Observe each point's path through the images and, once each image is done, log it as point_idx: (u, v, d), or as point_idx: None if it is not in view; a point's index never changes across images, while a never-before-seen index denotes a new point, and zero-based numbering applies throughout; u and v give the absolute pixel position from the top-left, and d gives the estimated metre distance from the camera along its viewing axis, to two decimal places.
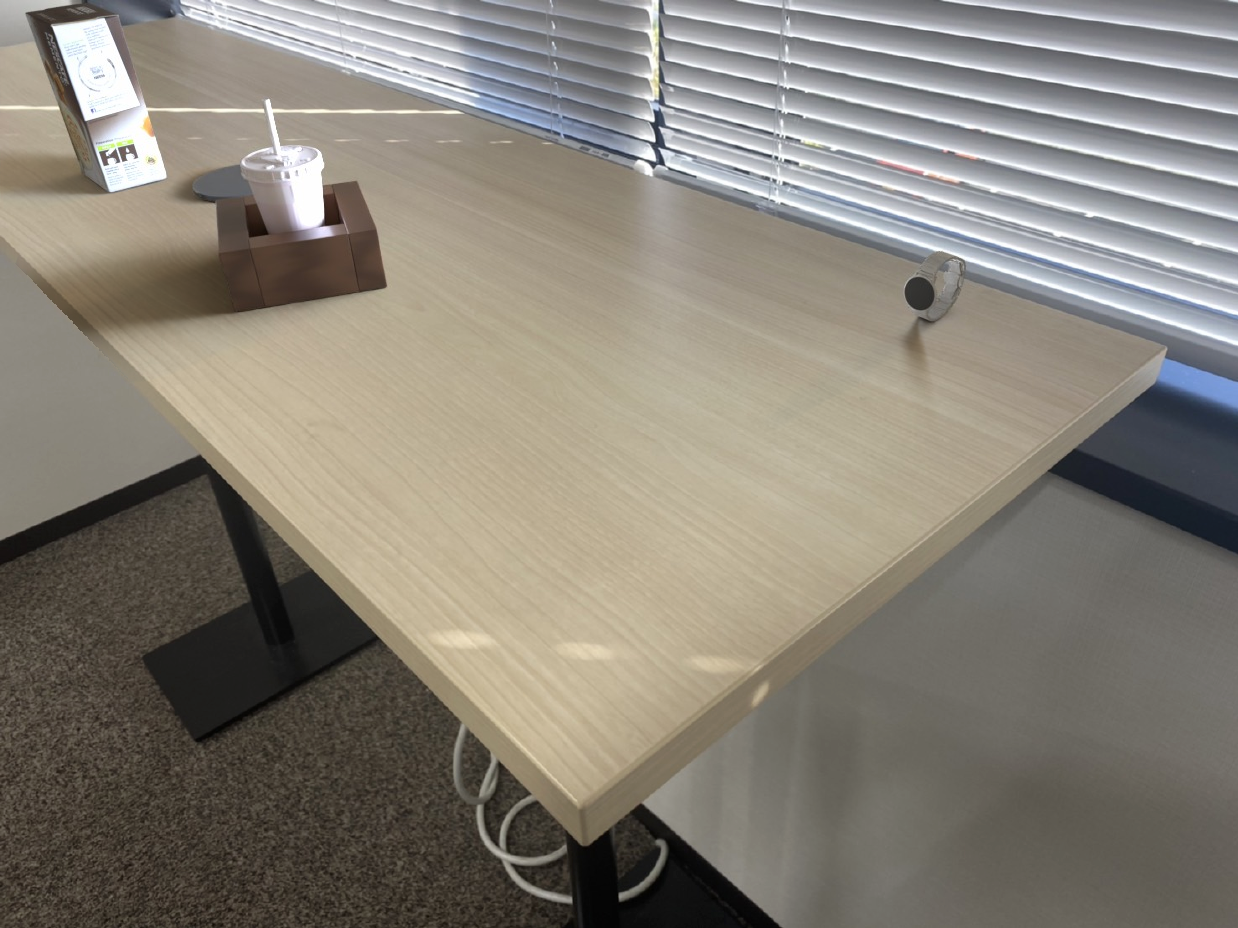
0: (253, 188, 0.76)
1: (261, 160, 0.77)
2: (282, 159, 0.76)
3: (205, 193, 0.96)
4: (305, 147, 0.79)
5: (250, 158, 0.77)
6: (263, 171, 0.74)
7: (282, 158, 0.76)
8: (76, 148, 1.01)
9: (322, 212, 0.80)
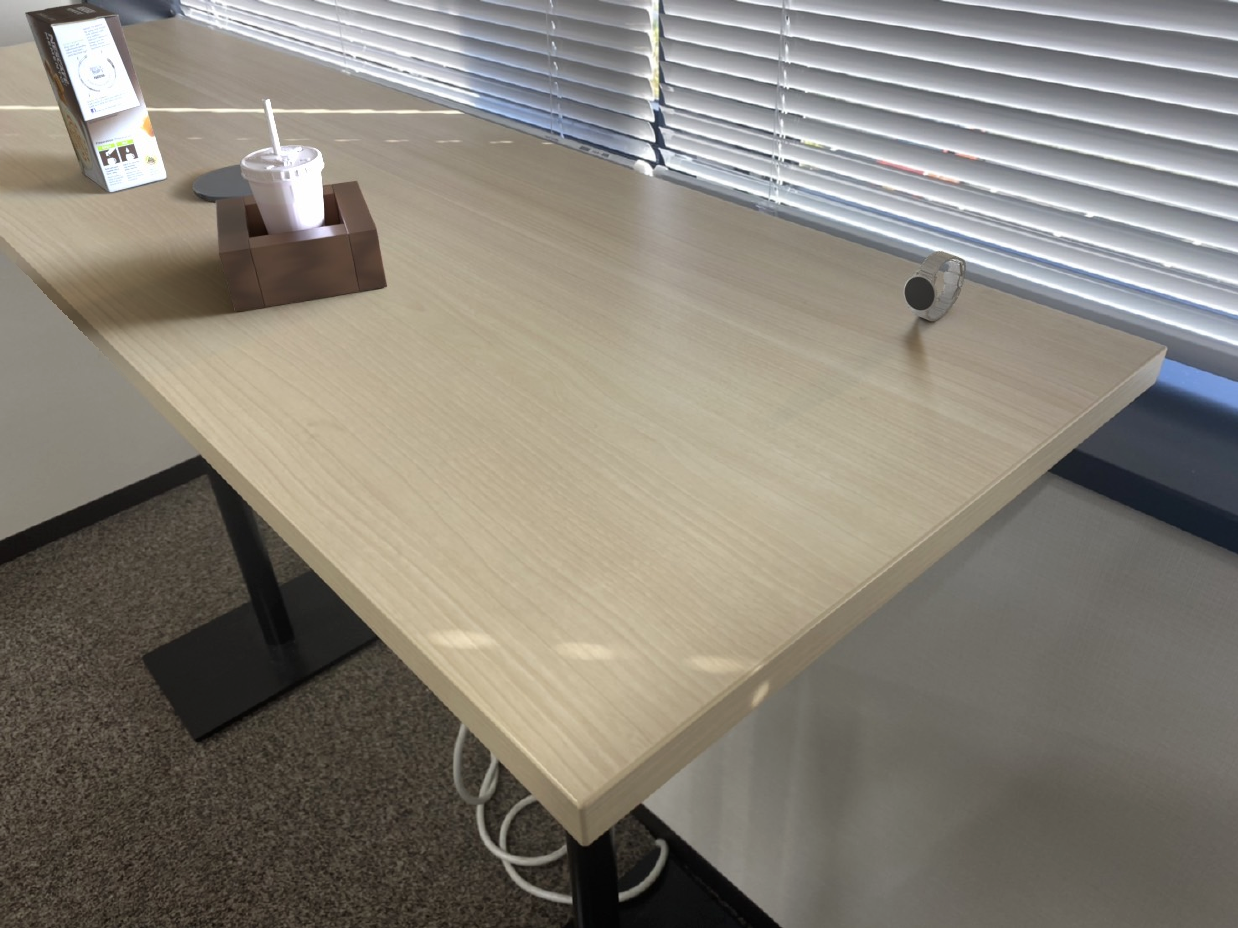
0: (253, 188, 0.76)
1: (261, 160, 0.77)
2: (282, 159, 0.76)
3: (205, 193, 0.96)
4: (305, 147, 0.79)
5: (250, 158, 0.77)
6: (263, 171, 0.74)
7: (282, 158, 0.76)
8: (76, 148, 1.01)
9: (322, 212, 0.80)
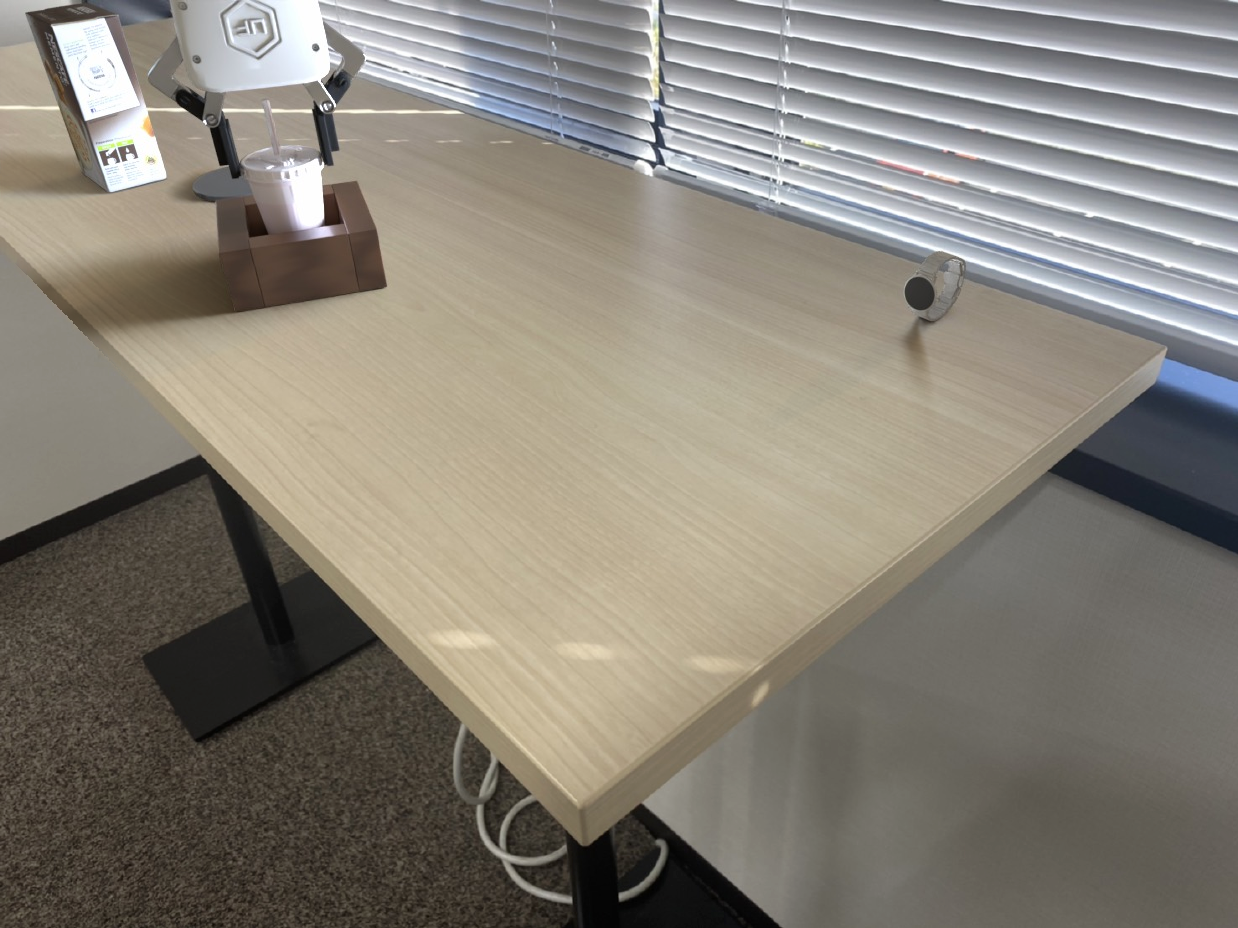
0: (253, 188, 0.76)
1: (261, 160, 0.77)
2: (282, 159, 0.76)
3: (205, 193, 0.96)
4: (305, 147, 0.79)
5: (250, 158, 0.77)
6: (263, 171, 0.74)
7: (282, 158, 0.76)
8: (76, 148, 1.01)
9: (322, 212, 0.80)
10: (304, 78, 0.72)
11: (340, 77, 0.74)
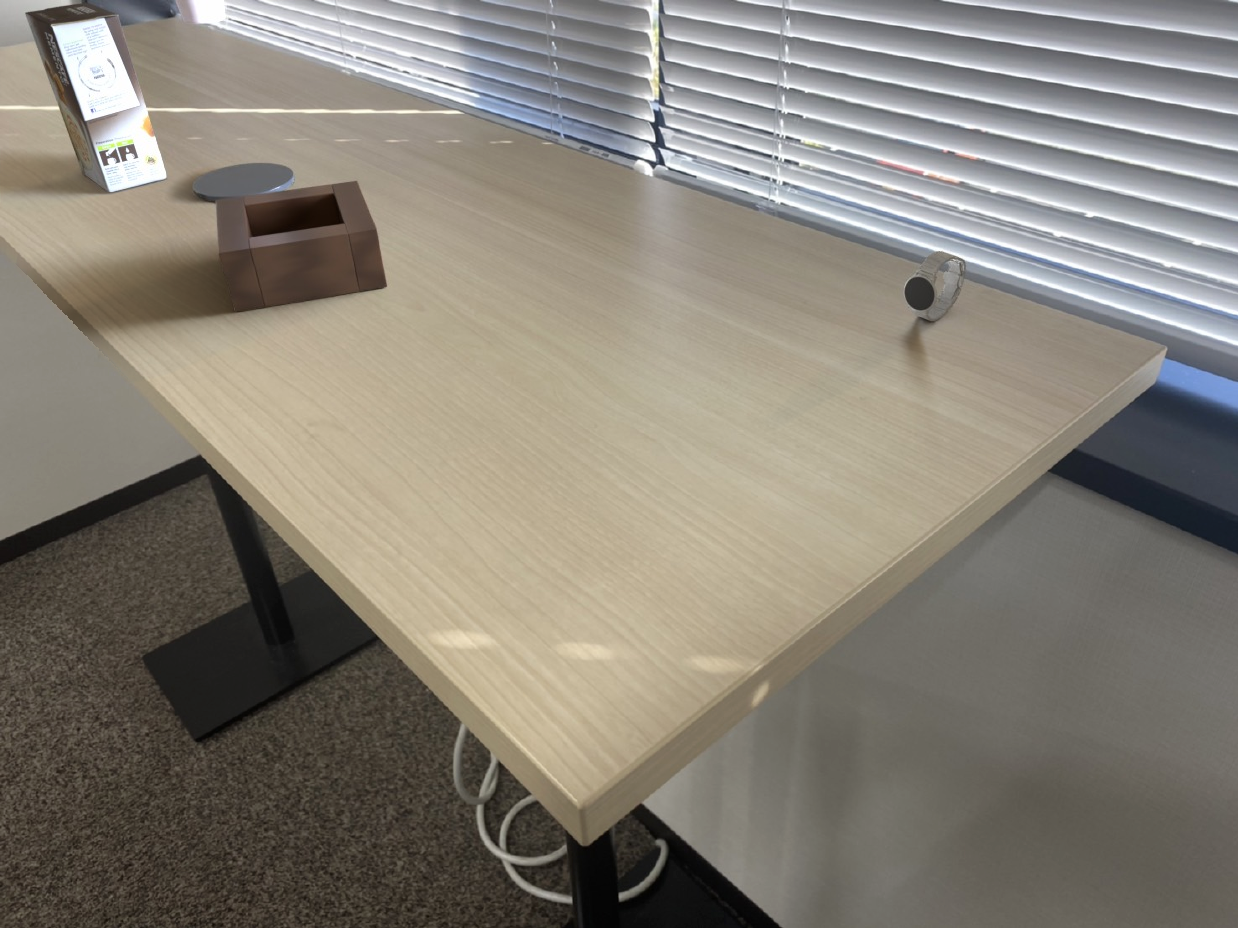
0: None
1: None
2: None
3: (205, 193, 0.96)
4: None
5: None
6: None
7: None
8: (76, 148, 1.01)
9: None
10: None
11: None
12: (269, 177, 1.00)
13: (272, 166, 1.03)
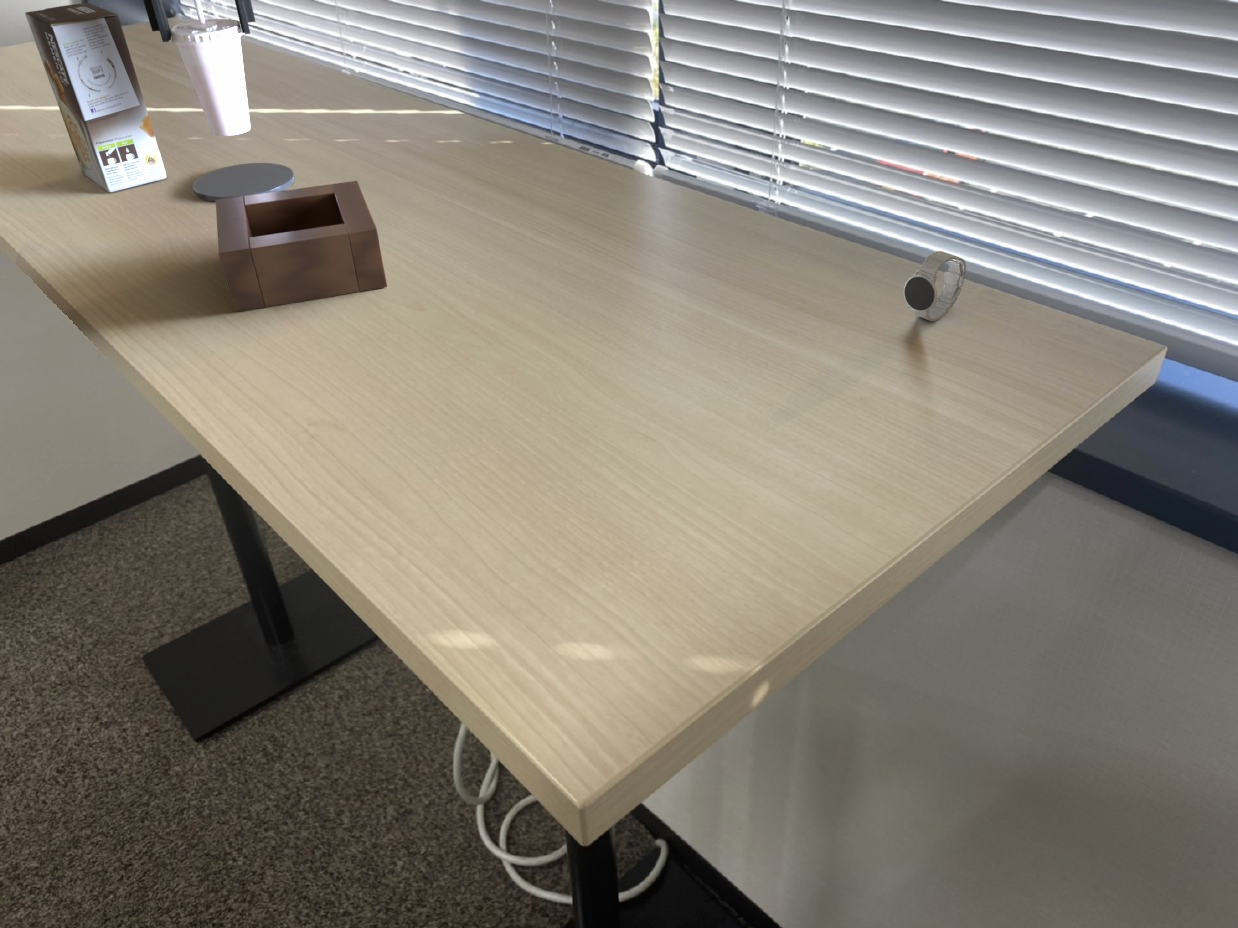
0: (181, 51, 0.91)
1: (188, 28, 0.91)
2: (206, 26, 0.90)
3: (205, 193, 0.96)
4: (227, 20, 0.93)
5: (179, 27, 0.91)
6: (188, 34, 0.89)
7: (205, 26, 0.90)
8: (76, 148, 1.01)
9: (242, 76, 0.94)
10: None
11: None
12: (269, 177, 1.00)
13: (272, 166, 1.03)
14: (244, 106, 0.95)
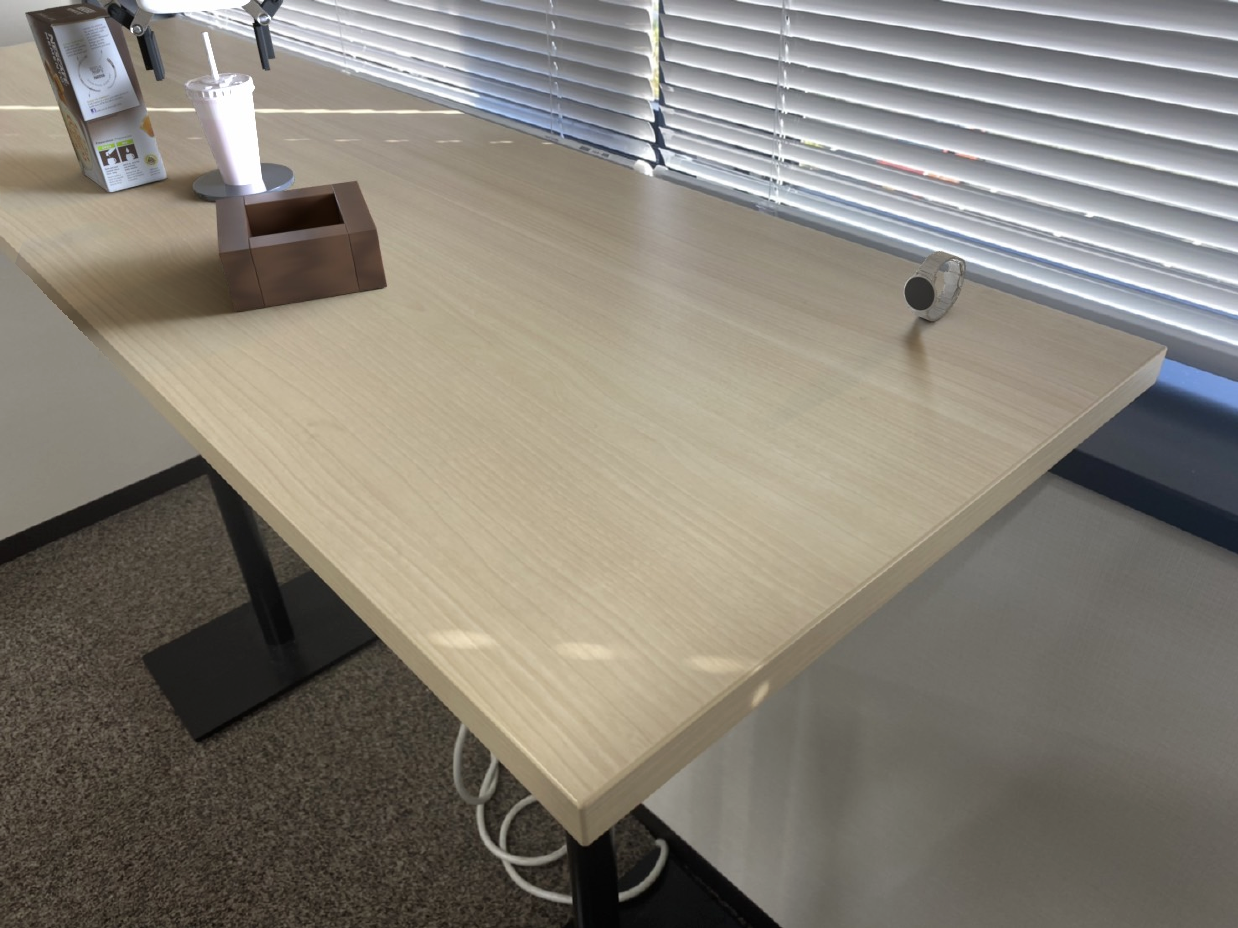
0: (195, 106, 0.93)
1: (202, 83, 0.93)
2: (219, 81, 0.93)
3: (205, 193, 0.96)
4: (239, 74, 0.96)
5: (193, 82, 0.94)
6: (202, 90, 0.91)
7: (219, 81, 0.93)
8: (76, 148, 1.01)
9: (254, 128, 0.97)
10: (230, 3, 0.88)
11: None
12: (269, 177, 1.00)
13: (272, 166, 1.03)
14: (255, 157, 0.98)
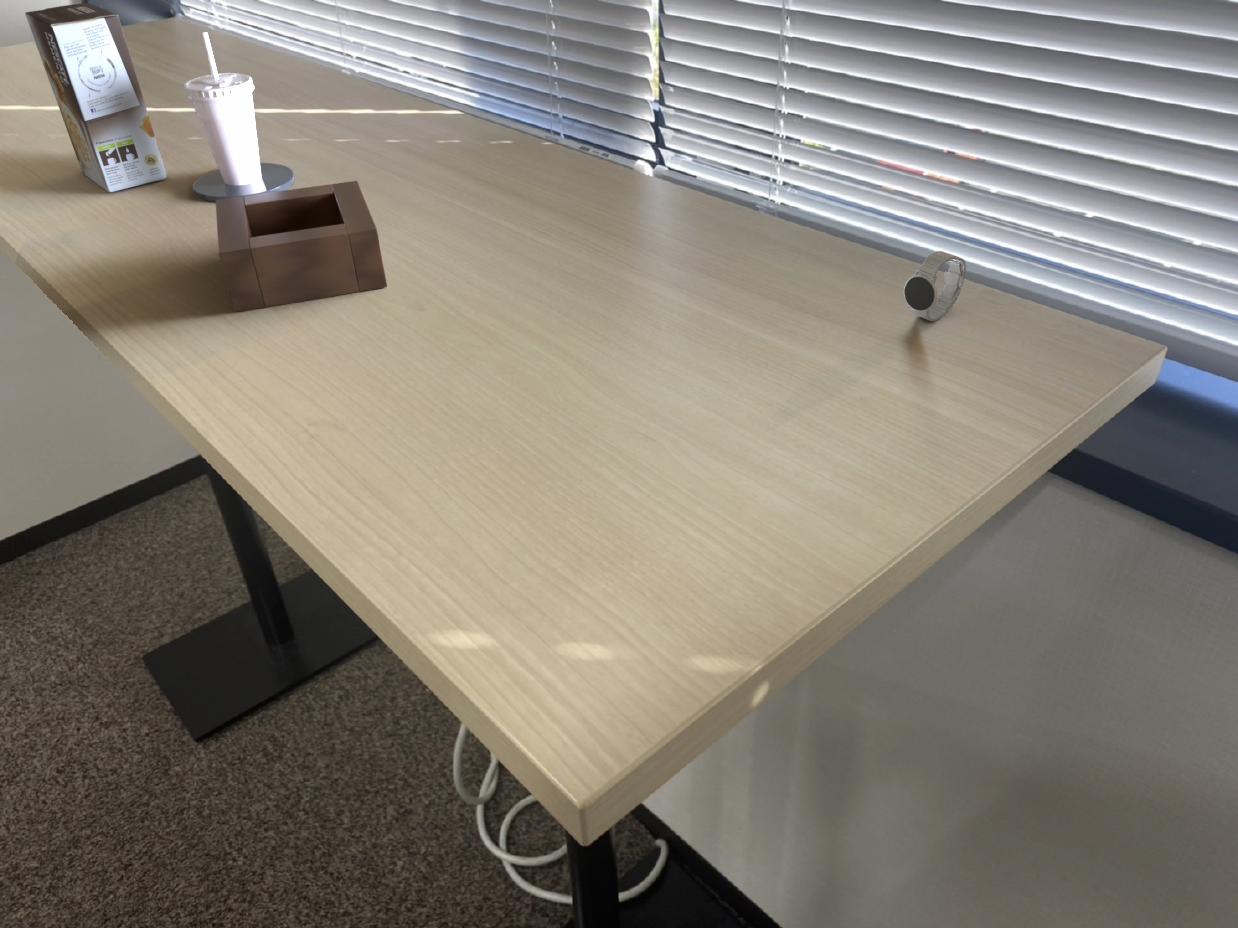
0: (195, 106, 0.93)
1: (202, 83, 0.93)
2: (219, 81, 0.93)
3: (205, 193, 0.96)
4: (239, 74, 0.96)
5: (193, 82, 0.94)
6: (202, 90, 0.91)
7: (219, 81, 0.93)
8: (76, 148, 1.01)
9: (254, 128, 0.97)
10: None
11: None
12: (269, 177, 1.00)
13: (272, 166, 1.03)
14: (255, 157, 0.98)
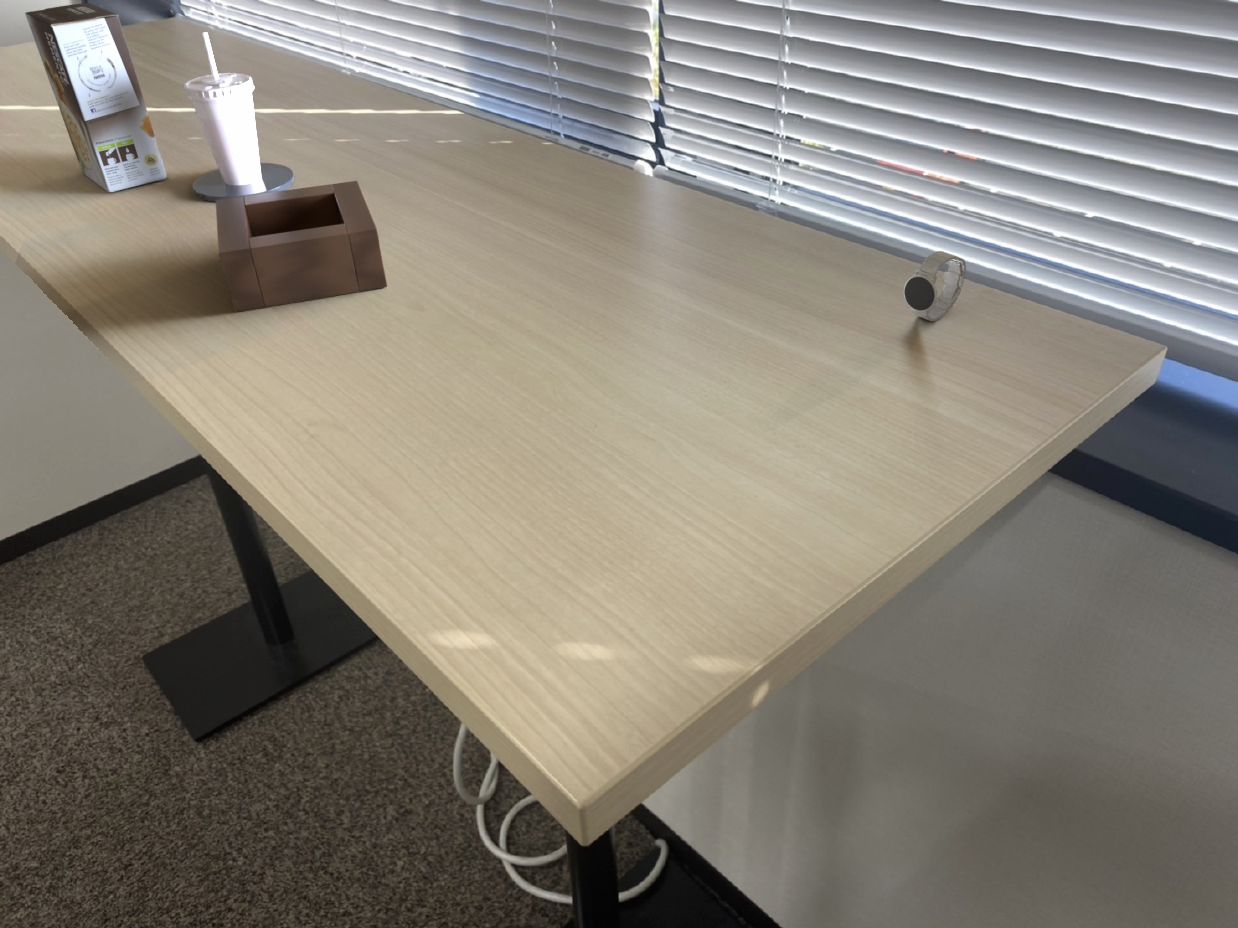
0: (195, 106, 0.93)
1: (202, 83, 0.93)
2: (219, 81, 0.93)
3: (205, 193, 0.96)
4: (239, 74, 0.96)
5: (193, 82, 0.94)
6: (202, 90, 0.91)
7: (219, 81, 0.93)
8: (76, 148, 1.01)
9: (254, 128, 0.97)
10: None
11: None
12: (269, 177, 1.00)
13: (272, 166, 1.03)
14: (255, 157, 0.98)
